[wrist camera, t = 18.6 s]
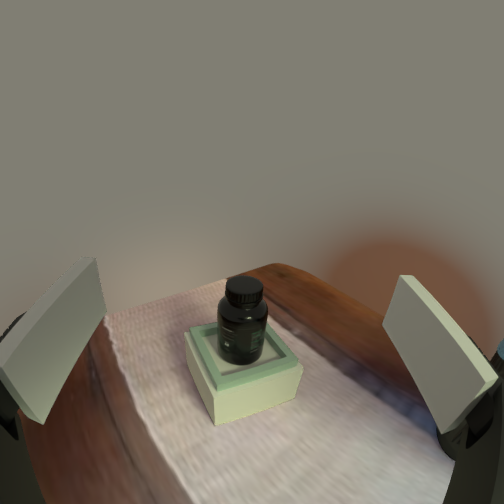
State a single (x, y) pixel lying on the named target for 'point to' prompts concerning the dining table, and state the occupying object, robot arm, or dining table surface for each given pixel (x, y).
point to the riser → (240, 375)
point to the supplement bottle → (241, 321)
